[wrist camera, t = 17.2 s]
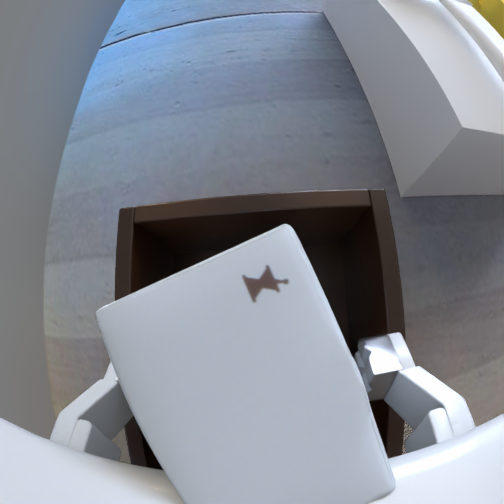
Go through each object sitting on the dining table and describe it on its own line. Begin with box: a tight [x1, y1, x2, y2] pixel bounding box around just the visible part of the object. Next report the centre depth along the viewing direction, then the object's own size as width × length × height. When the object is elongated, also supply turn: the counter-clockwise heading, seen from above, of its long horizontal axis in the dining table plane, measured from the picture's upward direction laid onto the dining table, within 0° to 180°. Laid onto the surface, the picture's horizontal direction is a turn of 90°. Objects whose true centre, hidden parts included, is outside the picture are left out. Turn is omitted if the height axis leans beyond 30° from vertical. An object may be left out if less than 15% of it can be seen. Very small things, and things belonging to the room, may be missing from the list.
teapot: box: [468, 0, 504, 39], centre depth 19 cm, size 18×11×11 cm, turn 90°
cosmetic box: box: [96, 224, 396, 504], centre depth 10 cm, size 6×4×12 cm
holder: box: [115, 189, 406, 470], centre depth 13 cm, size 12×14×7 cm
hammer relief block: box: [323, 0, 504, 197], centre depth 16 cm, size 14×25×11 cm, turn 5°
